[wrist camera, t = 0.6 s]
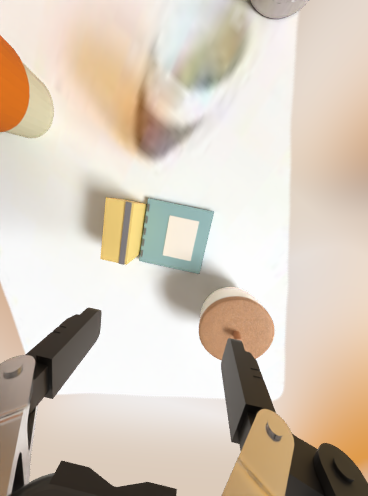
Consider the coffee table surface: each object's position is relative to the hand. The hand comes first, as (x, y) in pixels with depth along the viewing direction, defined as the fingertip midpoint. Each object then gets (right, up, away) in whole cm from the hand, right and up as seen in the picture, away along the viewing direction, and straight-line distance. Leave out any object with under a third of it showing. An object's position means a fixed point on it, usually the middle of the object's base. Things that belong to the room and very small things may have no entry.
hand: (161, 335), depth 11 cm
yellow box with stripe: (-8, +9, +20) cm, 23 cm away
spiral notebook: (0, +7, +20) cm, 21 cm away
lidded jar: (+10, -5, +22) cm, 24 cm away
